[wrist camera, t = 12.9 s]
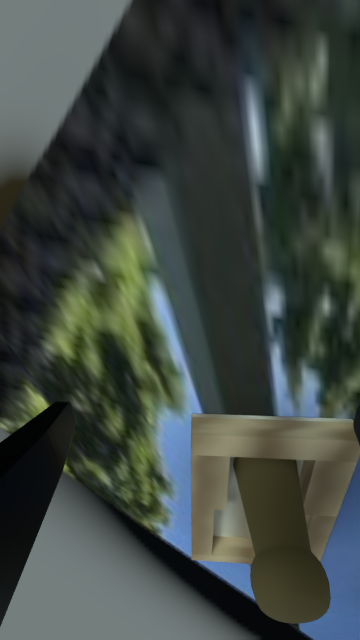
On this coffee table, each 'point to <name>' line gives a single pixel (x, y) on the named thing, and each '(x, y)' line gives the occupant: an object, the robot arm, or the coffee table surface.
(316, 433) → the keyhole plate
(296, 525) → the cork
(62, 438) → the robot arm
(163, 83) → the coffee table surface
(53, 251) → the coffee table surface
